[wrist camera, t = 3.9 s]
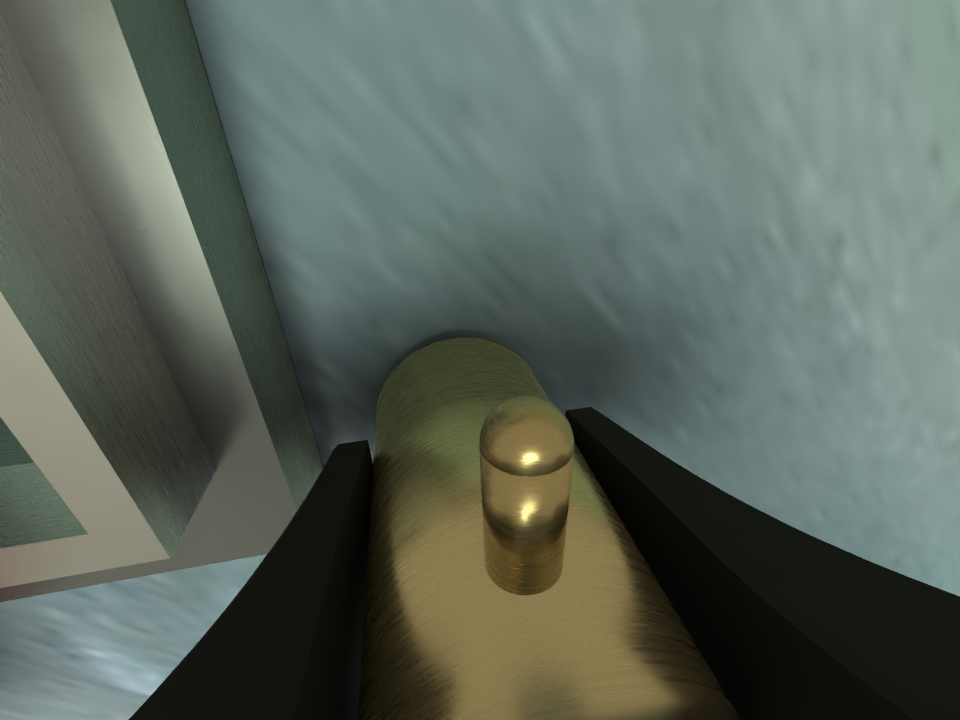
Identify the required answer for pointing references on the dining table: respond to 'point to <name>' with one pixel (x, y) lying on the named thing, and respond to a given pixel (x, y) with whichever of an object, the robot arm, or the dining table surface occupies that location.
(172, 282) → the silver square open block
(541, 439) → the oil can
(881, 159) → the dining table surface
